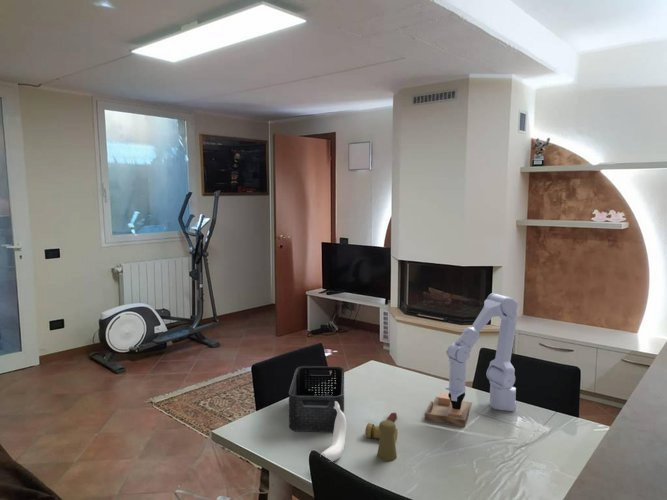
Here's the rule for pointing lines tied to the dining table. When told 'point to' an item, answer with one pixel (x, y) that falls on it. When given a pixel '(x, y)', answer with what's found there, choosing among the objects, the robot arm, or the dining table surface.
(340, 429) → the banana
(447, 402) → the tile outer
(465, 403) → the wooden tray
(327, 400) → the storage bin
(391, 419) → the gavel
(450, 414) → the tile inner
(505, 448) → the dining table surface
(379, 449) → the cork
